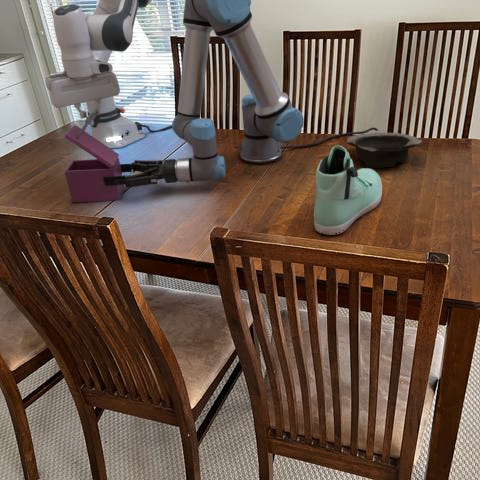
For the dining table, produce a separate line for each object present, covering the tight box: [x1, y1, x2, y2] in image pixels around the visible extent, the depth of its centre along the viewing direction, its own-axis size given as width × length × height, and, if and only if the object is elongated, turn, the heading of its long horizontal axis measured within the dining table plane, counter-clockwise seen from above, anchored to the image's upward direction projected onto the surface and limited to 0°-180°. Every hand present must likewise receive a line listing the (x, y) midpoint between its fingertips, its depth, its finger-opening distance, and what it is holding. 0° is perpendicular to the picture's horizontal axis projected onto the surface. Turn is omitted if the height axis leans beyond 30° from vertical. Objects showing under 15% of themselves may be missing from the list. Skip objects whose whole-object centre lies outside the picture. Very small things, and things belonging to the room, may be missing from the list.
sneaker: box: [313, 145, 383, 236], centre depth 133 cm, size 14×35×20 cm, turn 152°
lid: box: [64, 112, 120, 168], centre depth 148 cm, size 16×9×9 cm
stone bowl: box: [346, 132, 423, 169], centre depth 166 cm, size 25×25×9 cm
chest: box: [64, 157, 126, 203], centre depth 156 cm, size 15×9×11 cm, turn 91°
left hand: (90, 116), depth 145 cm, fingers closed on lid, 3 cm apart
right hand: (108, 175), depth 155 cm, fingers closed on chest, 9 cm apart
